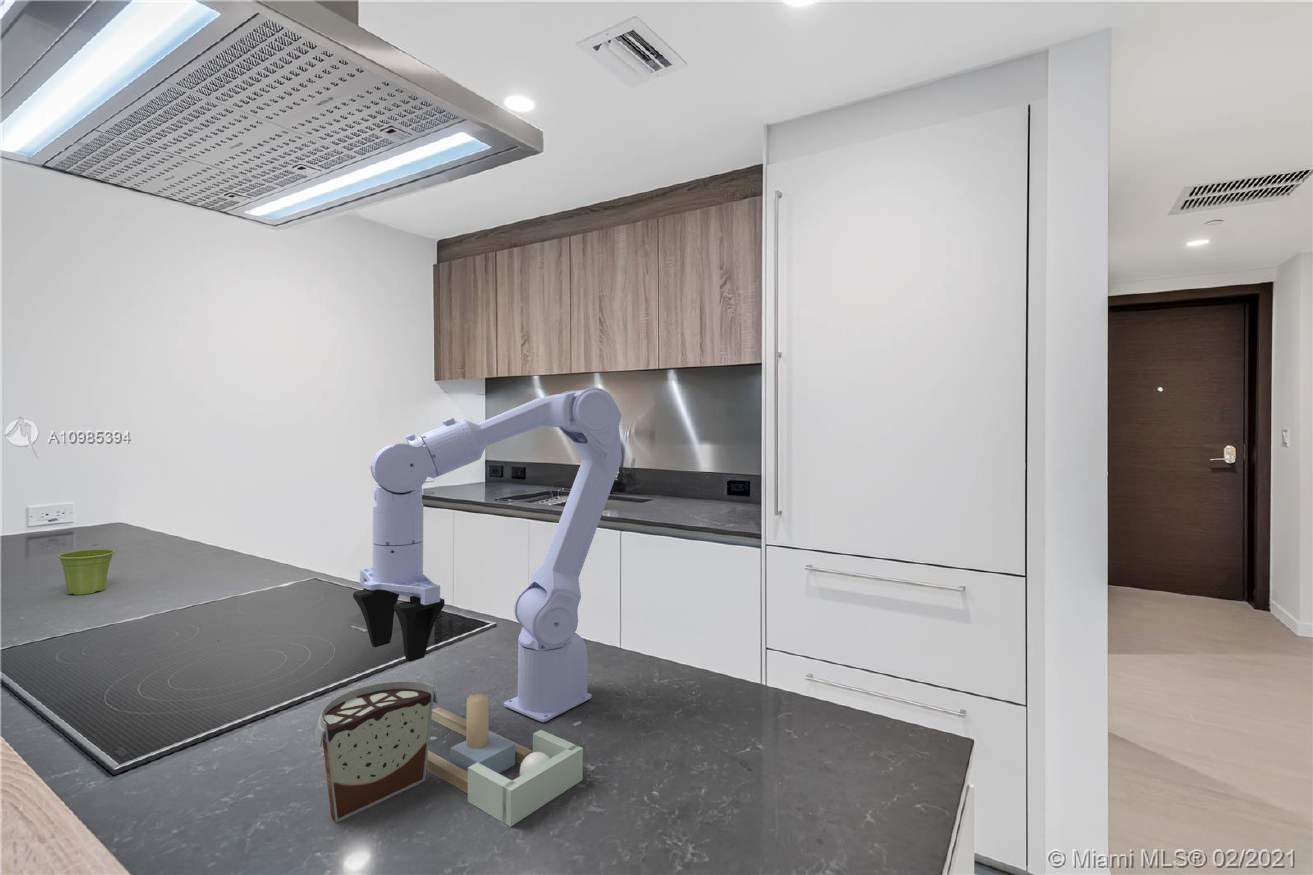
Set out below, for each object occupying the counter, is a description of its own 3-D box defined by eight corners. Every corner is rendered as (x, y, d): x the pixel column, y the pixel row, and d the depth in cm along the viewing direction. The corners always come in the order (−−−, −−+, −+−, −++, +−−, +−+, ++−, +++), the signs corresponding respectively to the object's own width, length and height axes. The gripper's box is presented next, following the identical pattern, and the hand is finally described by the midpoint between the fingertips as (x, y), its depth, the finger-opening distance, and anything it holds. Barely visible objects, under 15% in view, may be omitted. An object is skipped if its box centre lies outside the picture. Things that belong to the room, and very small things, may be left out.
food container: (408, 755, 72) (409, 669, 72) (437, 775, 68) (438, 684, 68) (293, 804, 62) (293, 706, 62) (319, 830, 58) (319, 725, 58)
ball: (524, 781, 68) (530, 746, 68) (554, 788, 67) (560, 752, 68) (511, 788, 64) (518, 752, 65) (542, 795, 63) (549, 758, 64)
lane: (438, 715, 82) (439, 706, 82) (532, 761, 71) (532, 751, 71) (378, 741, 75) (378, 731, 75) (471, 795, 64) (471, 784, 64)
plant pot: (116, 584, 145) (116, 547, 144) (113, 593, 137) (113, 554, 137) (60, 590, 139) (60, 551, 139) (54, 600, 131) (54, 559, 131)
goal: (540, 759, 71) (540, 729, 71) (582, 780, 67) (582, 748, 67) (467, 801, 63) (467, 767, 63) (510, 827, 59) (510, 790, 59)
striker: (486, 750, 73) (487, 687, 73) (515, 764, 70) (515, 699, 70) (450, 769, 69) (450, 702, 69) (478, 785, 66) (479, 715, 66)
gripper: (336, 539, 77) (335, 647, 77) (401, 554, 68) (400, 676, 69) (389, 531, 83) (389, 632, 83) (455, 545, 74) (454, 658, 74)
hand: (397, 651), depth 76 cm, fingers open, 7 cm apart
